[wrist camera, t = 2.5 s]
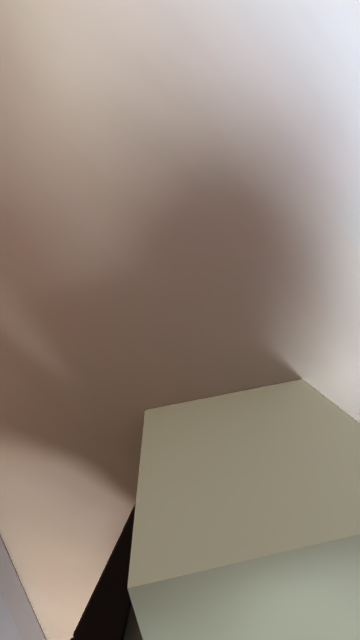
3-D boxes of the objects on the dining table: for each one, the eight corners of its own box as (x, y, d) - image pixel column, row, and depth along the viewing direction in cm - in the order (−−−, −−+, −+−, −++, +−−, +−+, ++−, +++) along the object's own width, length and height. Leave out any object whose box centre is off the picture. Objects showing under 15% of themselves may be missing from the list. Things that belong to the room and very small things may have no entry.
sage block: (300, 377, 9) (469, 508, 4) (306, 500, 10) (436, 707, 5) (145, 407, 9) (127, 588, 4) (172, 530, 10) (184, 776, 5)
